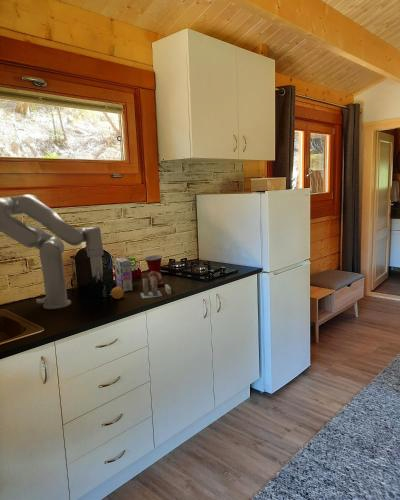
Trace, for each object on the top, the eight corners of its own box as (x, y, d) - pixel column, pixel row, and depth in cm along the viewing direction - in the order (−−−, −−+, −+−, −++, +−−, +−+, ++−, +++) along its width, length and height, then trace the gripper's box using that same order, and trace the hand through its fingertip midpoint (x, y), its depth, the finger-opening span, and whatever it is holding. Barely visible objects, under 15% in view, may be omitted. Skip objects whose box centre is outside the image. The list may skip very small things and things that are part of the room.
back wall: (168, 294, 192) (167, 288, 192) (165, 290, 201) (164, 284, 200) (171, 294, 193) (170, 288, 192) (168, 289, 201) (167, 284, 201)
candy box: (133, 290, 203) (131, 260, 201) (122, 292, 201) (120, 261, 198) (126, 285, 216) (124, 256, 213) (116, 286, 213) (113, 258, 211)
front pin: (144, 296, 191) (142, 279, 190) (143, 295, 193) (142, 278, 192) (148, 295, 192) (147, 279, 190) (148, 294, 194) (147, 278, 192)
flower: (141, 283, 210) (145, 273, 206) (150, 276, 217) (154, 266, 213) (155, 294, 208) (159, 283, 204) (163, 286, 216) (168, 276, 211)
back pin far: (151, 294, 194) (150, 277, 193) (151, 292, 197) (150, 276, 195) (156, 293, 195) (155, 277, 194) (155, 292, 197) (154, 276, 196)
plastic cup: (142, 276, 235) (140, 257, 233) (154, 273, 244) (153, 254, 242) (155, 278, 229) (153, 258, 227) (167, 274, 237) (165, 255, 235)
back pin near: (153, 296, 190) (152, 279, 188) (152, 295, 192) (151, 278, 191) (158, 296, 190) (156, 279, 189) (157, 294, 193) (156, 278, 191)
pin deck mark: (142, 298, 187) (142, 298, 187) (140, 293, 197) (140, 293, 197) (162, 296, 189) (162, 295, 189) (159, 291, 199) (159, 290, 199)
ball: (112, 301, 185) (110, 289, 184) (111, 297, 191) (110, 286, 190) (124, 299, 187) (123, 287, 186) (123, 296, 193) (122, 284, 192)
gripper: (87, 251, 189) (92, 286, 192) (86, 255, 175) (92, 294, 178) (103, 249, 191) (108, 284, 194) (103, 253, 177) (108, 291, 180)
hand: (100, 289), depth 186 cm, fingers closed
